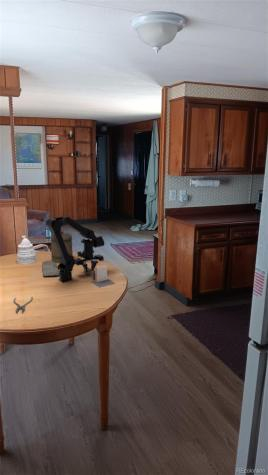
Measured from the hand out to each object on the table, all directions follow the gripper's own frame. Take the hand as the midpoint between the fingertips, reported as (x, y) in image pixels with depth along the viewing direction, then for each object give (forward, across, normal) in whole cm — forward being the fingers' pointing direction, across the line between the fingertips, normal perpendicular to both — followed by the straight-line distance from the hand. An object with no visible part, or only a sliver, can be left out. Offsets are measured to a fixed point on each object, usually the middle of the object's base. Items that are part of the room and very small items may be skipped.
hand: (89, 272), depth 219 cm
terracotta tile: (+1, 0, +15) cm, 15 cm away
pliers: (+2, +49, +22) cm, 53 cm away
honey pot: (+1, +23, -50) cm, 55 cm away
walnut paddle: (+1, 0, +3) cm, 3 cm away
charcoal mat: (+1, +1, +18) cm, 19 cm away
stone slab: (+2, +17, -22) cm, 28 cm away
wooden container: (+1, +1, -38) cm, 39 cm away
